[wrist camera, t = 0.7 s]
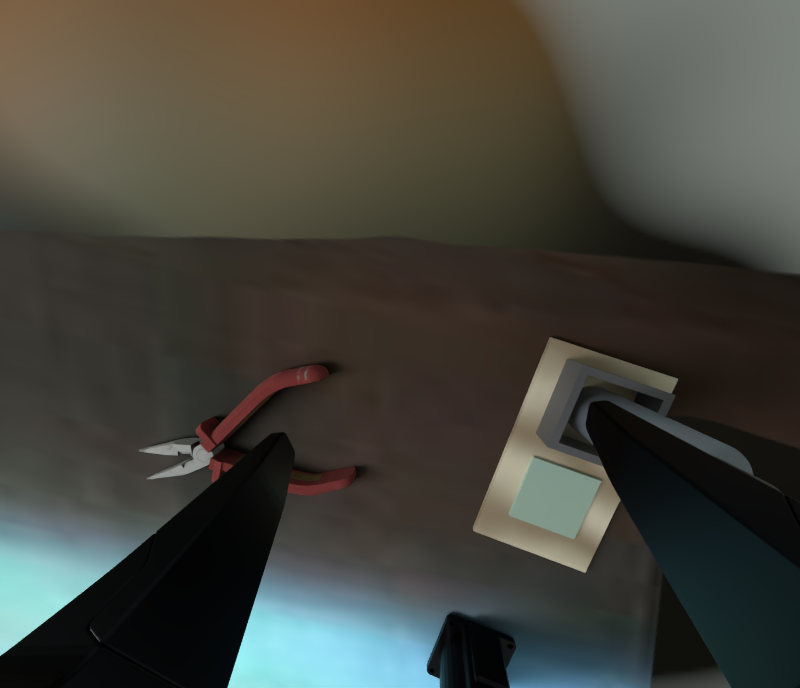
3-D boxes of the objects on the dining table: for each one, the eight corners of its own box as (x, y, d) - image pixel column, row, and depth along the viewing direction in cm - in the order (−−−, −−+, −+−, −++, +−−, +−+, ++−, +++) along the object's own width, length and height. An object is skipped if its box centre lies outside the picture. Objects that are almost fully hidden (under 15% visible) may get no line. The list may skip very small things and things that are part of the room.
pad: (572, 536, 25) (574, 539, 25) (508, 513, 25) (509, 515, 25) (599, 479, 24) (601, 481, 24) (532, 455, 25) (534, 457, 24)
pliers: (137, 403, 29) (108, 412, 26) (329, 358, 26) (318, 363, 24) (173, 510, 30) (149, 529, 27) (361, 476, 28) (354, 494, 25)
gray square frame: (614, 460, 24) (635, 478, 22) (535, 433, 24) (547, 447, 22) (649, 386, 23) (676, 395, 21) (566, 358, 23) (582, 364, 21)
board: (583, 568, 26) (585, 572, 25) (472, 527, 26) (473, 530, 26) (674, 377, 23) (678, 379, 23) (549, 337, 24) (551, 337, 23)
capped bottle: (605, 441, 24) (777, 571, 12) (557, 424, 24) (679, 535, 12) (626, 395, 23) (828, 485, 11) (576, 379, 24) (724, 450, 12)
